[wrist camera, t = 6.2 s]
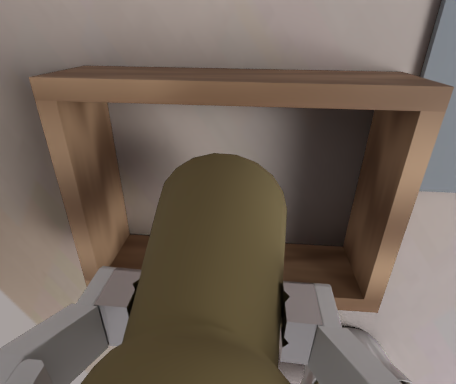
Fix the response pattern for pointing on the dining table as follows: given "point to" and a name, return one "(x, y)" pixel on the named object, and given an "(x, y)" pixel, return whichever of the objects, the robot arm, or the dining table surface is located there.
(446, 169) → the felt pad
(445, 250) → the dining table surface
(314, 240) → the dining table surface
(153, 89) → the frame
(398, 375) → the cupcake
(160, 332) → the olive piece
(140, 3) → the dining table surface
